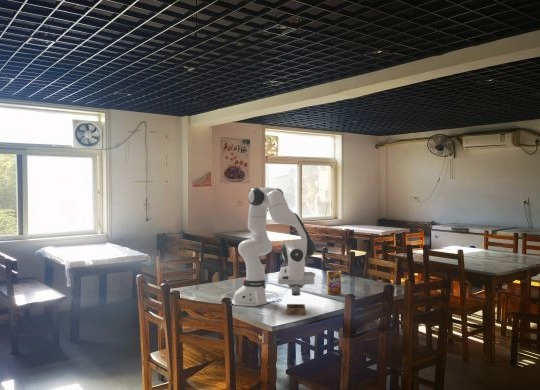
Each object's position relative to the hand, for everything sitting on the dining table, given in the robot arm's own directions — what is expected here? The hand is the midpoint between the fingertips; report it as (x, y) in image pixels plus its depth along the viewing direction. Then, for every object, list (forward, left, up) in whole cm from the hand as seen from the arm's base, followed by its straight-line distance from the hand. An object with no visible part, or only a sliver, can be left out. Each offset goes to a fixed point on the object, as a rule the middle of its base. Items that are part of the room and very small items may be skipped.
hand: (295, 286), depth 263 cm
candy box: (+26, +46, -15) cm, 55 cm away
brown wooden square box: (0, -1, -14) cm, 14 cm away
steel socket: (0, -1, -4) cm, 4 cm away
